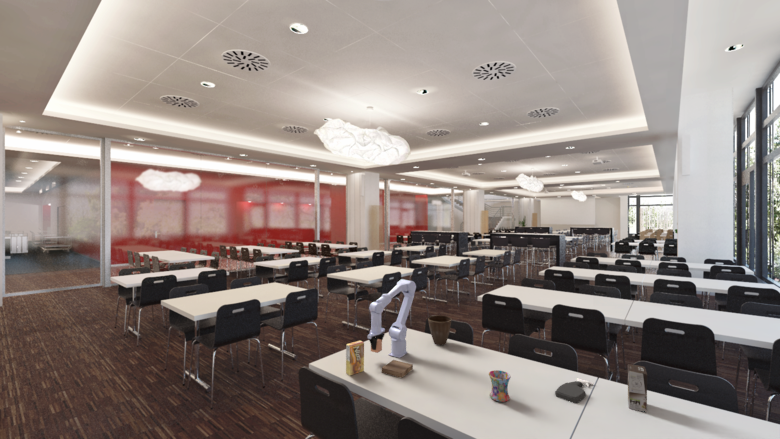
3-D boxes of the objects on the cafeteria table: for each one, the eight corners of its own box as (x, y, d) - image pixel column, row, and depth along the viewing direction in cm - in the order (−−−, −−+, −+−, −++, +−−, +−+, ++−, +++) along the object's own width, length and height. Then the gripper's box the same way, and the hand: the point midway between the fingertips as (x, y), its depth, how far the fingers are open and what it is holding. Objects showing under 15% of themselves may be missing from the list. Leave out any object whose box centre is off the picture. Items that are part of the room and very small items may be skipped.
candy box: (359, 368, 186) (359, 340, 186) (364, 371, 183) (364, 342, 183) (345, 373, 181) (345, 343, 181) (350, 376, 178) (350, 346, 177)
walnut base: (393, 365, 192) (393, 359, 192) (412, 370, 186) (412, 364, 186) (381, 373, 182) (381, 367, 182) (401, 379, 175) (401, 373, 175)
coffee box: (647, 413, 144) (647, 374, 144) (628, 408, 147) (628, 370, 147) (645, 403, 152) (645, 366, 152) (627, 399, 155) (627, 363, 155)
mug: (508, 406, 149) (508, 381, 149) (486, 400, 154) (486, 376, 154) (513, 393, 160) (513, 370, 160) (492, 388, 164) (492, 366, 164)
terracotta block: (375, 348, 199) (375, 338, 199) (381, 350, 196) (381, 339, 196) (370, 351, 195) (370, 340, 195) (377, 352, 192) (377, 342, 192)
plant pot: (427, 346, 218) (427, 321, 218) (428, 338, 233) (428, 314, 232) (451, 348, 215) (451, 322, 215) (451, 340, 230) (451, 315, 230)
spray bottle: (552, 396, 158) (572, 380, 175) (578, 405, 150) (596, 387, 167) (552, 389, 158) (572, 374, 175) (578, 399, 150) (596, 381, 167)
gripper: (377, 319, 204) (377, 342, 204) (362, 326, 191) (363, 350, 191) (387, 321, 200) (387, 344, 200) (373, 328, 188) (373, 353, 188)
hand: (376, 347), depth 195 cm, fingers closed on terracotta block, 4 cm apart
